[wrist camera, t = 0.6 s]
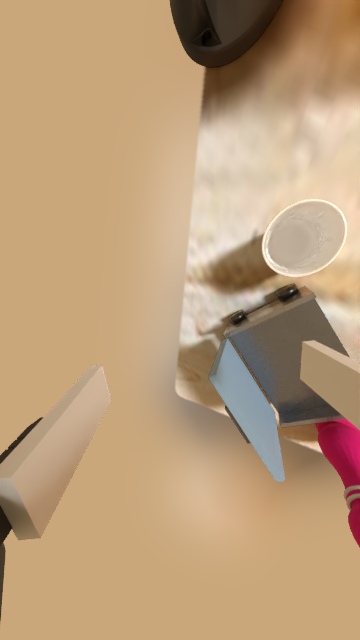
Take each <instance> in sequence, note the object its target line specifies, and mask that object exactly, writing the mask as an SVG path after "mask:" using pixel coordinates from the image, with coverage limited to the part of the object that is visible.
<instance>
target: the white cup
mask: <svg viewBox="0 0 360 640" xmlns="http://www.w3.org/2000/svg"><path fill="white" fill-rule="evenodd" d="M346 234H347V224H346V220H345V217H344V215H343V213H342V212H341V211H340V209H339V208H338V207H336V206H335V205H334V204H332V203H330V202H327V201H324V200H319V199H309V200H303V201H299V202H296V203H294V204H292V205H290V206H288V207H286V208H285V209H283V210H282V211H281V212H279V213H278V214H277V215H276V216H275V217H274V218H273V220H272V221H271V222H270V223H269V225H268V227H267V228H266V231H265V233H264V236H263V239H262V254H263V258H264V260H265V262H266V263H267V265H268V266H269V267H270V268H271V269H272V270H273V271H275V272H276V273H278V274H281V275H283V276H288V277H301V276H306V275H310V274H313V273H315V272H317V271H319V270H321V269H323V268H324V267H326V266H327V265H328V264H329V263H331V262H332V261H333V260H334V259H335V257H336V256H337V255H338V254H339V252H340V251H341V249H342V247H343V245H344V242H345V239H346Z"/></svg>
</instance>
